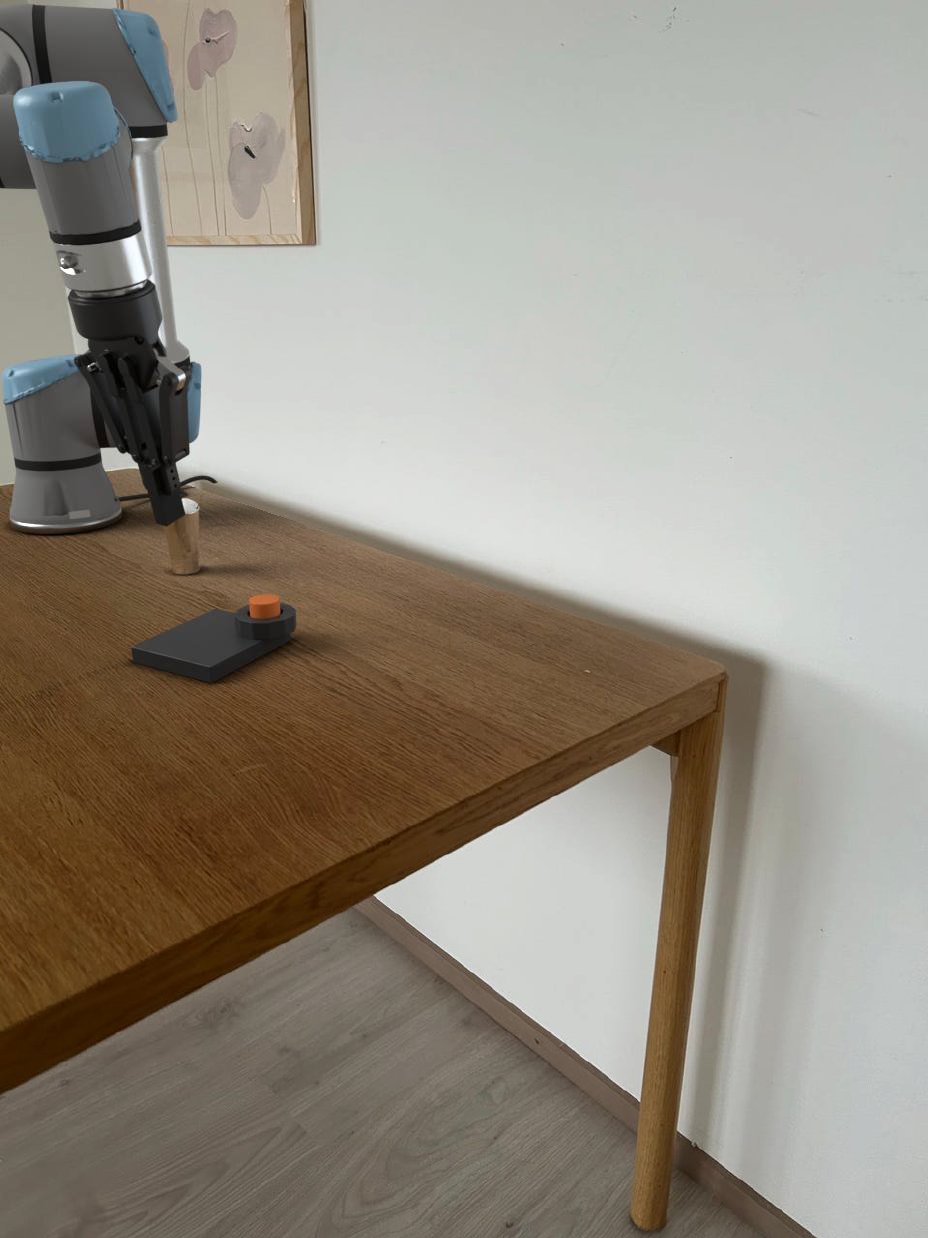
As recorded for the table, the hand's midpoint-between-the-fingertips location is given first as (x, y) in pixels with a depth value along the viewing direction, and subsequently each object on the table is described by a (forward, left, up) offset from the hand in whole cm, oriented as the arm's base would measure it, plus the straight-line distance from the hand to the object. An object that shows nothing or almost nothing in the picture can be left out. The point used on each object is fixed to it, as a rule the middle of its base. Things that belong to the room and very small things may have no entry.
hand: (170, 518), depth 98 cm
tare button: (0, +11, -9) cm, 14 cm away
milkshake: (-14, -12, -12) cm, 23 cm away
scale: (+4, +8, -12) cm, 14 cm away
